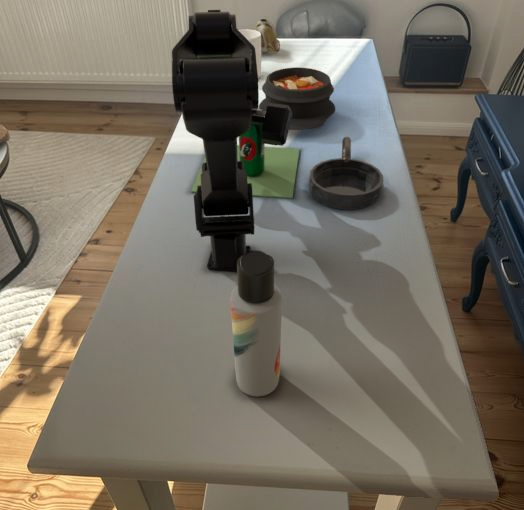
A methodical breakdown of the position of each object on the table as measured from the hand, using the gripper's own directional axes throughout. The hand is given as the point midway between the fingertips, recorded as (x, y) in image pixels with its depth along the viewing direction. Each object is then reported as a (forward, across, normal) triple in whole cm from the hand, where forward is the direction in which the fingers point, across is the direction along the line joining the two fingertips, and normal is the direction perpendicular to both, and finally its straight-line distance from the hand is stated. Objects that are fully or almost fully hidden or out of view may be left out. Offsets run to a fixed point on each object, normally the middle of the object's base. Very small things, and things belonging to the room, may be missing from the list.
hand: (249, 137), depth 93 cm
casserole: (+28, -1, -16) cm, 32 cm away
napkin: (+7, +1, +4) cm, 8 cm away
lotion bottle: (-29, -19, +41) cm, 54 cm away
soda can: (+6, 0, +5) cm, 8 cm away
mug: (+43, +20, -32) cm, 58 cm away
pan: (+6, -20, +5) cm, 21 cm away
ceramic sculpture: (+53, +22, -49) cm, 75 cm away
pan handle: (+13, -17, -4) cm, 22 cm away
